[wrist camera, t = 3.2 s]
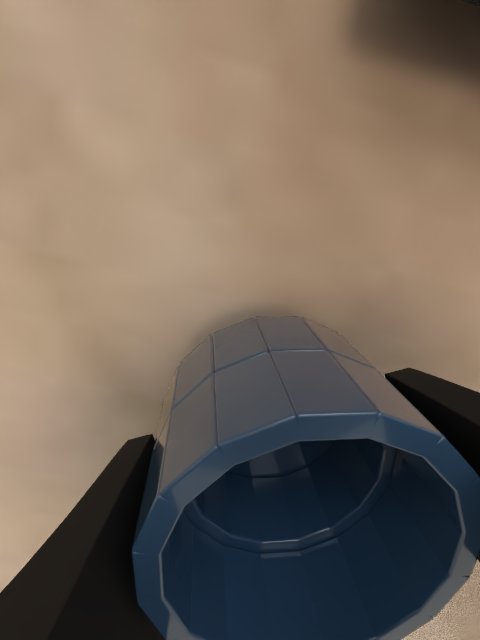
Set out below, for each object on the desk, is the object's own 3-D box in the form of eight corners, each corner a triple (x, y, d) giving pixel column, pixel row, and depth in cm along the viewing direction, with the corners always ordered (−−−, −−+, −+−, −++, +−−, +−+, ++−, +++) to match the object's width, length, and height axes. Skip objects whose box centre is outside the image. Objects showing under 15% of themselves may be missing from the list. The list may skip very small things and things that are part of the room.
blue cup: (400, 400, 10) (544, 548, 6) (260, 511, 11) (294, 710, 7) (276, 264, 8) (350, 329, 4) (122, 408, 9) (51, 586, 5)
